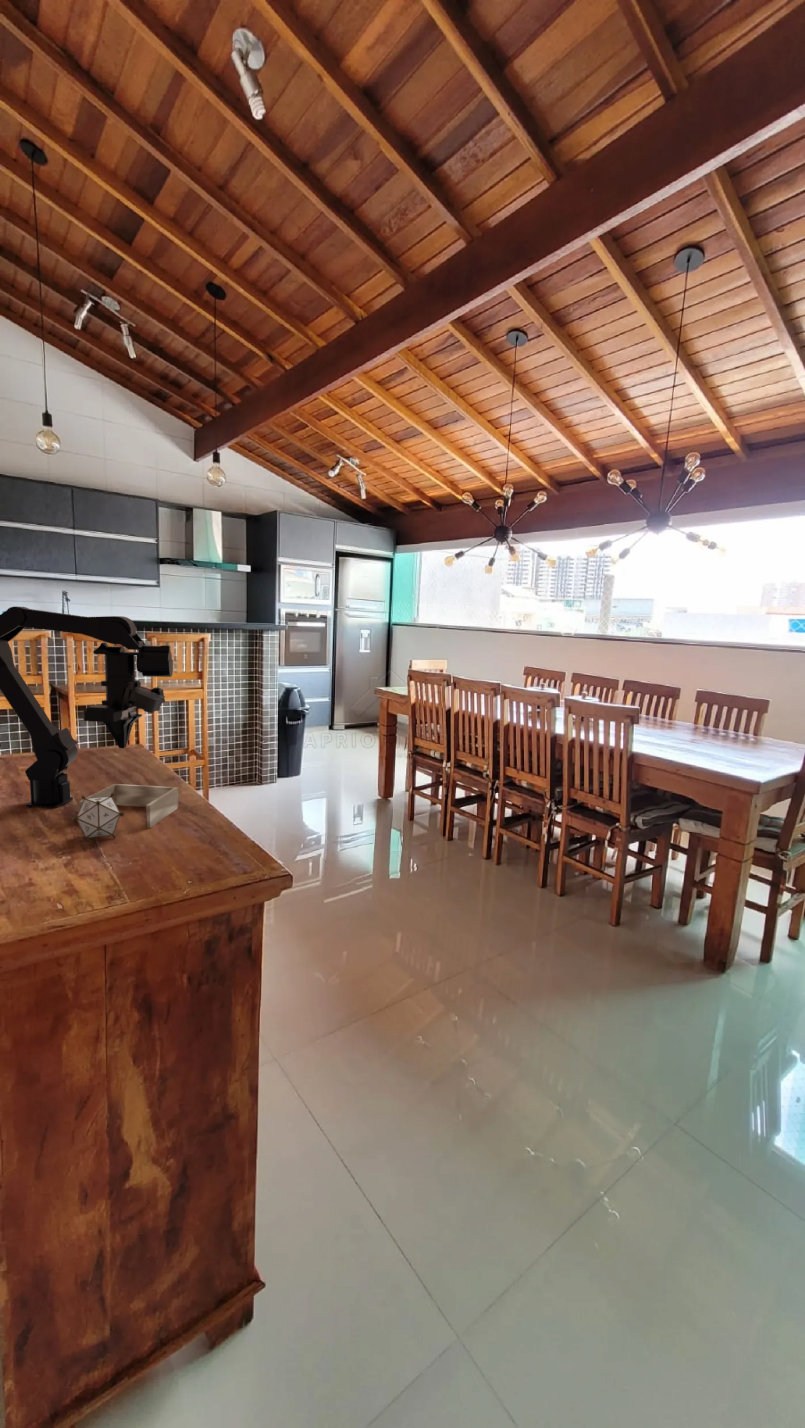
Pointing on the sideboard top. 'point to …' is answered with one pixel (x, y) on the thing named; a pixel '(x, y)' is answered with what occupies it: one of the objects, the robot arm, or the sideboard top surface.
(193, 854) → the sideboard top surface
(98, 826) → the game die
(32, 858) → the sideboard top surface
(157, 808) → the cubby
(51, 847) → the sideboard top surface
